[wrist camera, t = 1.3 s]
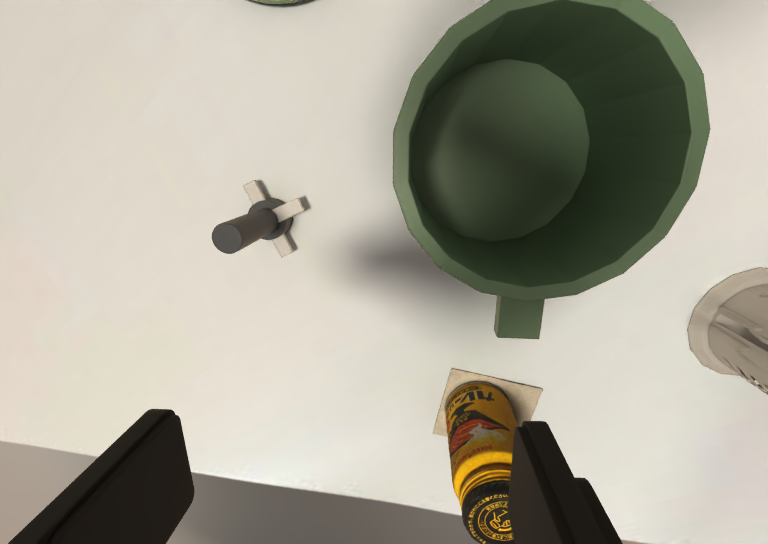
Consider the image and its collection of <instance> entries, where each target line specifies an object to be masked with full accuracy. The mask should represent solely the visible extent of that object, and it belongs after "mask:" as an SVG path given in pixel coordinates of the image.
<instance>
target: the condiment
mask: <svg viewBox="0 0 768 544" xmlns="http://www.w3.org/2000/svg"><path fill="white" fill-rule="evenodd" d="M542 390H543V389H539V388H534V387H530V386H526V385H520V384H516V383H512V382H508V381H503V380H500V379H496V378H492V377H487V376H483V375H478V374H474V373H470V372H465V371H461V370H455V369H452V370H451V373H450V376H449V380H448V383H447V386H446V389H445V393H444V396H443V399H442V403H441V406H440V410H439V413H438V417H437V421H436V424H435V427H434V431H433V434H438V435H443V436H448V444H449V453H450V460H451V471H452V482H453V488H454V491H455V493H456V496H457V498H458V499H459V501H460V506H461V510H462V517H463V523H464V525H465V527H466V529H467V530H468V532H469V533H470V535H471V537H472V538H473V539H475V540H476V541H477V542H479V543H480V544H515V541H514V537H513V533H512V529H511V526H510V522H509V516H508V497H509V486H510V475H511V464H512V453H513V442H514V432H515V427H516V426H519V427H522V423H523V421H530V420H531V416H532V414H533V413H534V410H535V408H536V405H537V402H538V400H539V398H540V395H541V393H542Z"/></svg>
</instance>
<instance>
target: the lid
mask: <svg viewBox="0 0 768 544" xmlns="http://www.w3.org/2000/svg"><path fill="white" fill-rule="evenodd" d="M252 1H257V2H261V3H267V4H286V3H295V2H298V1H302V0H252Z"/></svg>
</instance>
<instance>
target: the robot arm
mask: <svg viewBox="0 0 768 544" xmlns="http://www.w3.org/2000/svg"><path fill="white" fill-rule="evenodd" d="M193 497H194V486H193V481H192V476H191V471H190V466H189V461H188V456H187V451H186V446H185V441H184V436H183V431H182V426H181V421H180V418H179V416H177V415H175V412H174V411H173V410H168V409H150V410H148V411H147V412H146V413H145V414H144V415H142V416H141V417H140V418H139V419H138V420H137V421H136V422H135V423H134V424H133V425H132V426H131V427H130V428H129V429H128V430H127V431H126V432H125V433H124V434H123V435H121V436H120V437H119V438H118V439H117V440H116V441H115V442H114V443H113V444H112V445H111V446H110V447H109V448H108V449H107V450H106V451H105V452H104V453H103V454H102V455H100V456H99V457H98V458H97V459H96V460H95V461H94V462H93V463H92V464H91V465H90V466H89V467H88V468H87V469H86V470H85V471H84V472H83V473H82V474H81V475H79V476H78V477H77V478H76V479H75V480H74V481H73V482H72V483H71V484H70V485H69V486H68V487H67V488H66V489H65V490H64V491H63V492H62V493H61V494H59V496H58V497H56V498H55V500H53V501H52V502H51V503H50V504H49V505H48V506H47V507H46V508H45V509H44V510H43V511H42V512H41V513H40V514H39V515H37V516H36V517H35V518H34V519H33V520H32V521H31V522H30V523H29V524H28V525H27V526H26V527H25V528H24V529H23V530H22V531H21V532H20V533H18V535H16V536H15V537H14V538H13V539H12V540H11V541H10V542H9V543H8V544H166V542H167V541H168V539H169V537H170V536H171V535H172V533H173V532H174V530H175V528H176V527H177V525H178V524H179V522H180V521H181V519H182V518H183V516H184V514H185V513H186V511H187V510H188V508H189V506H190V505H191V503H192V501H193ZM508 516H509V522H510V526H511V529H512V533H513V537H514V541H515V544H622V542H621V540H620V538H619V536H618V534H617V532H616V530H615V529H614V527H613V525H612V523H611V521H610V519H609V517H608V516H607V514H606V512H605V510H604V508H603V506H602V504H601V503H600V501H599V499H598V497H597V495H596V493H595V491H594V490H593V488H592V486H591V485H590V483H589V482H588V480H586V479H585V478H574V476H573V474H572V472H571V470H570V468H569V466H568V464H567V462H566V460H565V458H564V456H563V454H562V452H561V450H560V448H559V446H558V444H557V442H556V440H555V438H554V436H553V434H552V432H551V430H550V428H549V426H548V424H547V423H546V422H544V421H523V423H522V427H519V426H516V427H515V432H514V442H513V453H512V464H511V475H510V486H509V497H508Z"/></svg>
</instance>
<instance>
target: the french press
mask: <svg viewBox="0 0 768 544" xmlns="http://www.w3.org/2000/svg"><path fill="white" fill-rule="evenodd" d="M688 336H689V343H690V349H691V351H692V352H693V353H694V354H695V356H696V357H697V358H698V360H699V361H700V362H701V364H702V365H704V366H706V367H708V368H710V369H712V370H714V371H716V372H718V373H720V374H727V375H739V376H741V377H743V378H745V379H746V380H747V381H748V382H750V381H751V382H750V383H751V384H753V385H754V386H756V387H758V388H759V389H760V390H761V391H763V392H764V393H766V394H767V395H768V268H756V269H753V270H749V271H745V272H741V273H738V274H734V275H732V276H730V277H729V278H727V279H726V280H724V281H723V282H721V283H719V284H718V285H716V286H715V287H713V288H711V289H710V290H709V291H708V293H707V294H706V295H705V296H704V298H703V299H702V300H701V301H700V302H699V304H698V305H697V306H696V307H695V308H694V311H693V314H692V317H691V321H690V324H689V327H688ZM749 380H750V381H749ZM754 380H757V382H758V383H759V384H760V385H757V384H756V383H755V382H754ZM762 389H763V390H762ZM764 390H765V391H766V392H765V391H764Z"/></svg>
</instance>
